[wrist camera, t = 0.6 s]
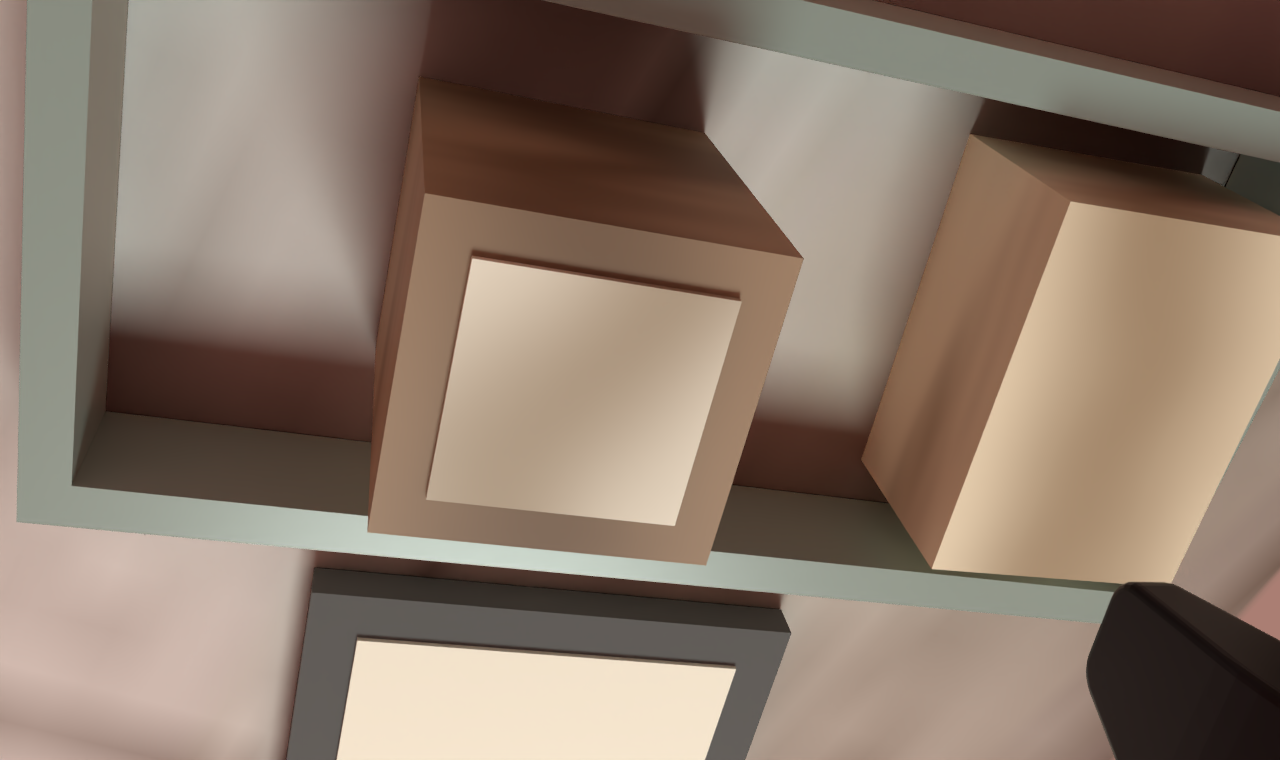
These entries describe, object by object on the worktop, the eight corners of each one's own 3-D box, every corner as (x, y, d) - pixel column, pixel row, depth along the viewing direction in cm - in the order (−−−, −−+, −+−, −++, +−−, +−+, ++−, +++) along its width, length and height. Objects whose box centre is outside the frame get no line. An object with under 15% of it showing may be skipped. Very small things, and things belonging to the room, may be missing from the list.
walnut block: (704, 132, 21) (805, 261, 16) (637, 381, 23) (707, 569, 18) (418, 75, 20) (425, 195, 14) (375, 344, 22) (367, 536, 16)
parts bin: (1303, 102, 23) (1398, 139, 21) (1085, 557, 27) (1145, 627, 25) (78, -189, 17) (30, -180, 15) (56, 444, 22) (16, 521, 19)
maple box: (1195, 171, 23) (1334, 244, 20) (1067, 476, 26) (1168, 586, 23) (965, 130, 22) (1071, 201, 19) (858, 455, 25) (931, 569, 21)
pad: (781, 609, 26) (792, 636, 25) (689, 867, 30) (697, 897, 29) (314, 567, 24) (311, 595, 23) (271, 854, 27) (267, 887, 26)
